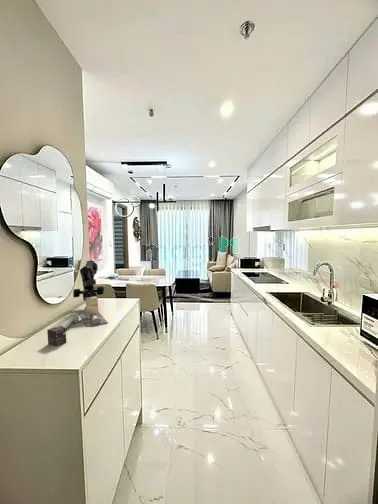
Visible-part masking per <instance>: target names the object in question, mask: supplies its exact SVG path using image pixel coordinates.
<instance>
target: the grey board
mask: <svg viewBox="0 0 378 504" xmlns="http://www.w3.org/2000/svg"><path fill="white" fill-rule="evenodd" d="M98 315H99V317H97V316H96V315H95V314H94V313H93V314H91V319H88V318H87V314H86V312H85V313H80V314H79V317H80V318H81V320H82V322H83V323H84V325H85V327H86V328H88V327H94V326H101V325H106V324H109V322H108V321H107V320H106V319H105V318H104V316H103V315H102V314H101V313H100V311H99V310H98Z"/></svg>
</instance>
